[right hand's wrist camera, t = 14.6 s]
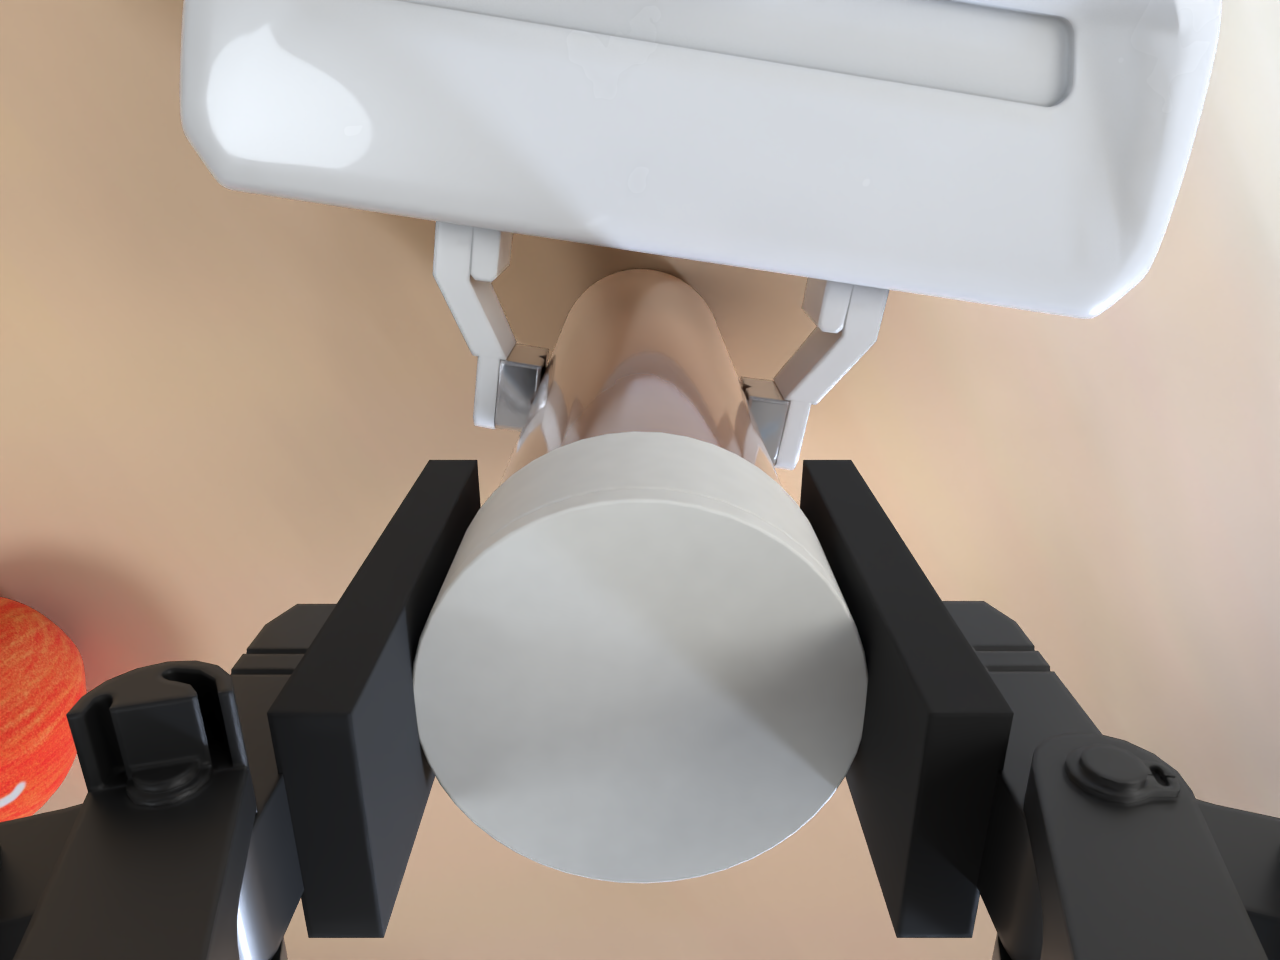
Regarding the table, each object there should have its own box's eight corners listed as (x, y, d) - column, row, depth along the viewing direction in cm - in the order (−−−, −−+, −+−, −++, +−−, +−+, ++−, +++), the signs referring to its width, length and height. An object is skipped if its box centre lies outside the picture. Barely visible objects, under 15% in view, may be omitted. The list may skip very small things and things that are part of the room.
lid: (840, 424, 11) (887, 492, 9) (821, 759, 13) (856, 880, 11) (429, 435, 11) (381, 505, 9) (470, 767, 13) (437, 888, 11)
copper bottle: (720, 266, 26) (857, 493, 10) (719, 422, 28) (833, 842, 11) (556, 270, 26) (411, 505, 10) (565, 427, 28) (457, 850, 11)
